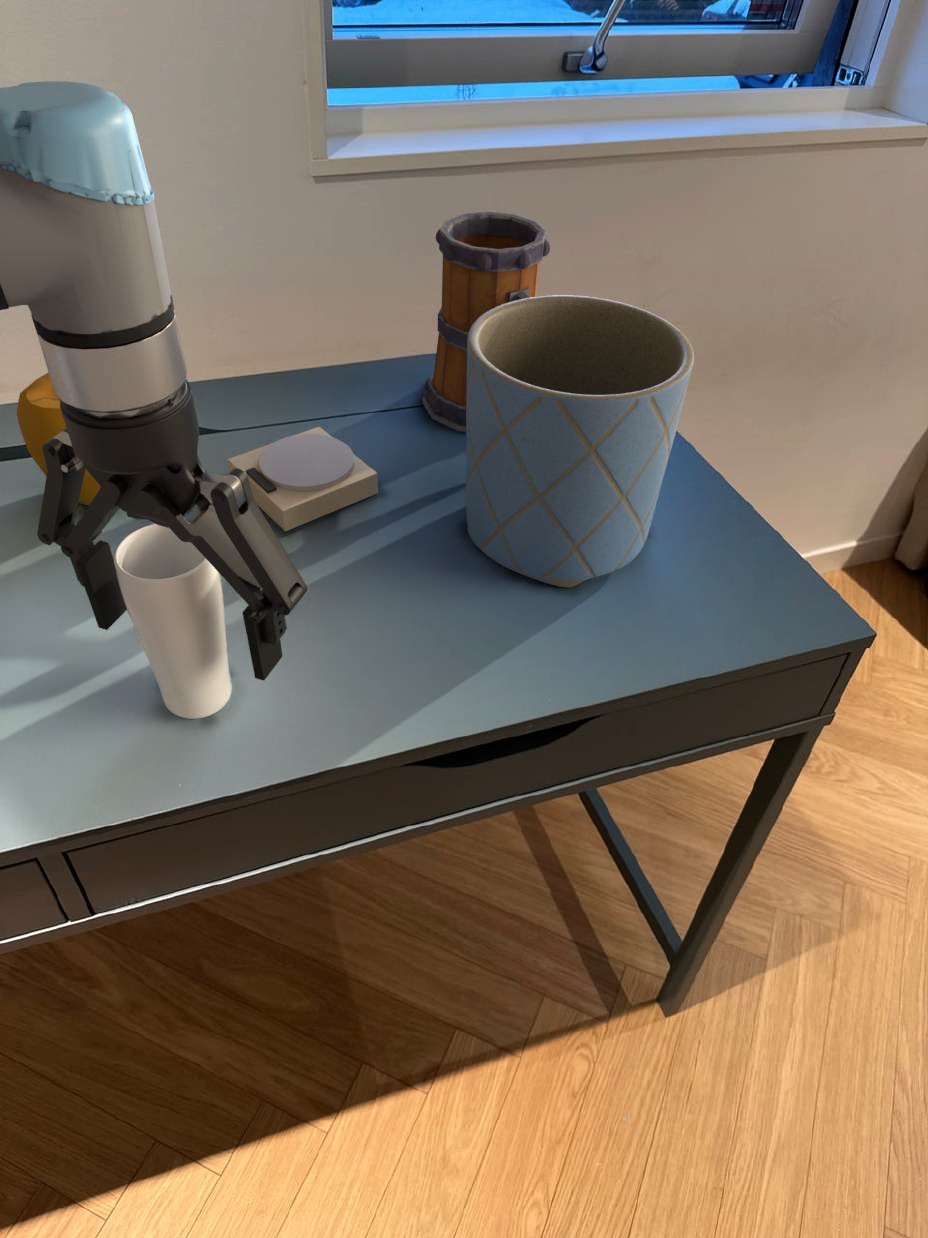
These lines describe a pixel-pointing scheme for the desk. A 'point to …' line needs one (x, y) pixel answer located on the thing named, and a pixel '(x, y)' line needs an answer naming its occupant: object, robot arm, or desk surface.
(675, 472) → the desk surface
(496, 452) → the planter
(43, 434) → the apple
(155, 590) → the drinking glass
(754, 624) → the desk surface
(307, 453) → the scale
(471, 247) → the mug
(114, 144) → the robot arm
